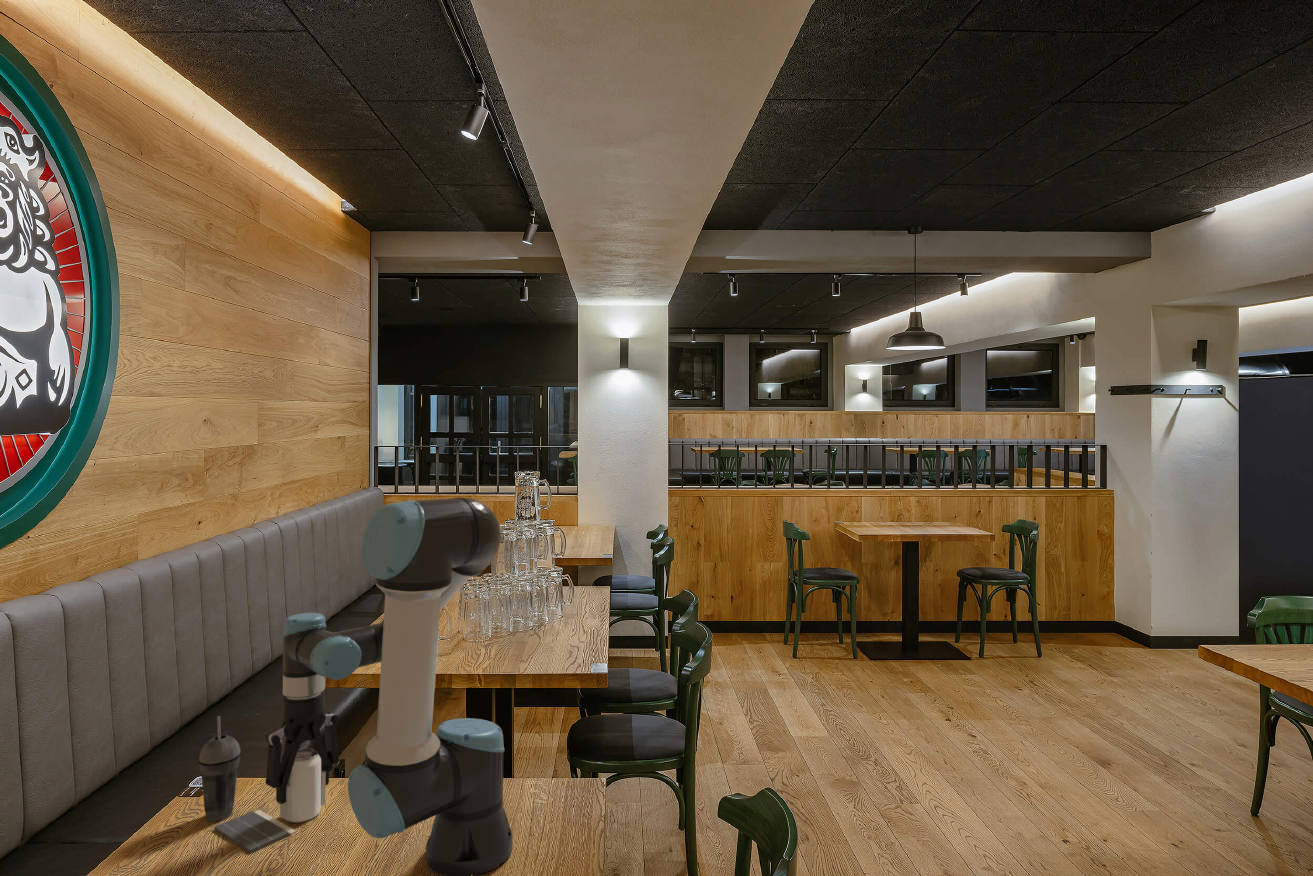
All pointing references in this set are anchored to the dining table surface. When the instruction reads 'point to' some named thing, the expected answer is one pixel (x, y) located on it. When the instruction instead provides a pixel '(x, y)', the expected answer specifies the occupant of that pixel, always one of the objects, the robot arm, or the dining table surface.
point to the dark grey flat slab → (254, 830)
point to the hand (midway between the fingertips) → (303, 810)
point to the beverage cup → (219, 775)
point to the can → (305, 785)
